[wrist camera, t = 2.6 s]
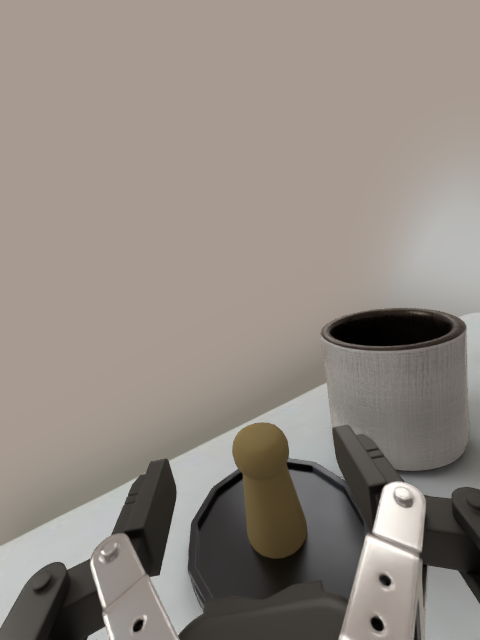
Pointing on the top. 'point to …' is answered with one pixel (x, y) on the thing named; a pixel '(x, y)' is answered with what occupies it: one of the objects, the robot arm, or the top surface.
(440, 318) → the planter
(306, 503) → the metal plate
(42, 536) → the top surface
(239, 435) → the cork
